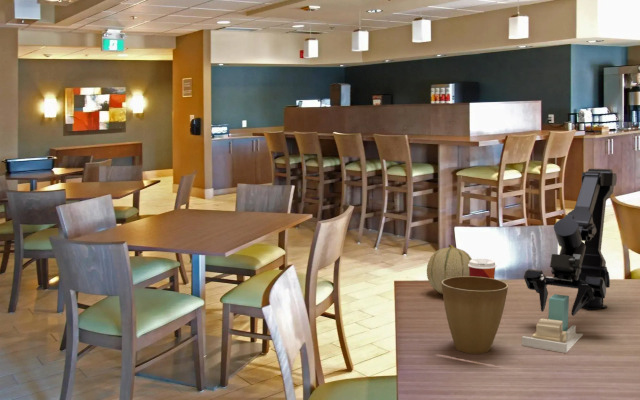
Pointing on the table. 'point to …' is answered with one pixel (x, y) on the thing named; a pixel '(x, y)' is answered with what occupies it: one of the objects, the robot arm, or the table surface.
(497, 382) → the table surface
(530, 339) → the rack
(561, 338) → the offcut lower
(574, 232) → the robot arm
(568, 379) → the table surface
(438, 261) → the cantaloupe
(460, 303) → the plant pot
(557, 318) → the teal rectangular block
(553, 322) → the offcut upper
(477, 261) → the paper cup
